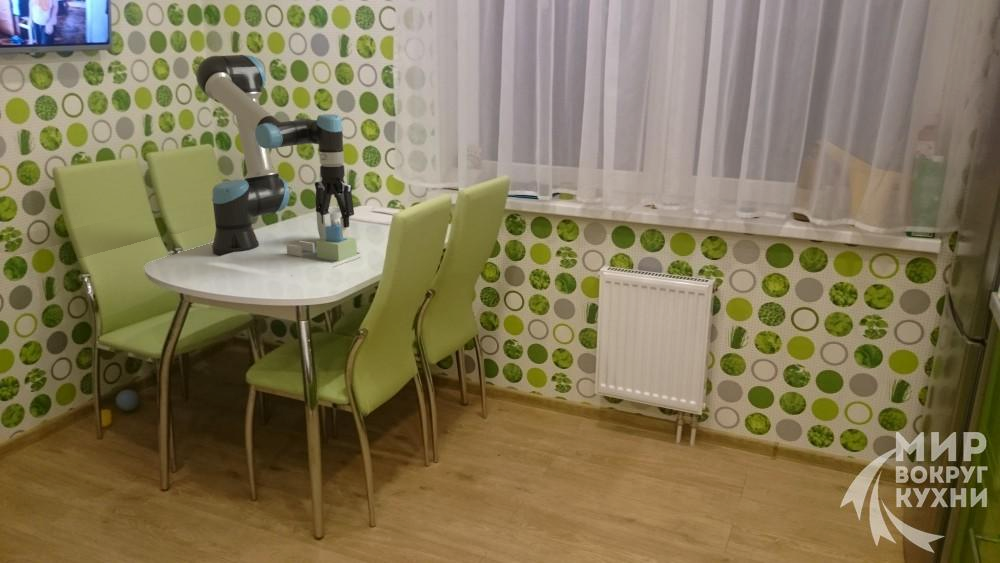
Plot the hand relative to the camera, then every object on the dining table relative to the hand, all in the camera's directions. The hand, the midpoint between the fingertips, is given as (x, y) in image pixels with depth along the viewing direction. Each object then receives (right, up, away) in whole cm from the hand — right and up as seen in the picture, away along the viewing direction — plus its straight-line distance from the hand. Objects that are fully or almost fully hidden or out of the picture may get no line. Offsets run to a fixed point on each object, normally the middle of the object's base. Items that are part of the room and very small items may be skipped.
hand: (336, 235), depth 262 cm
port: (0, -7, +2) cm, 7 cm away
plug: (0, -7, +2) cm, 7 cm away
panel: (-5, -7, +5) cm, 10 cm away
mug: (-4, -3, +19) cm, 20 cm away
